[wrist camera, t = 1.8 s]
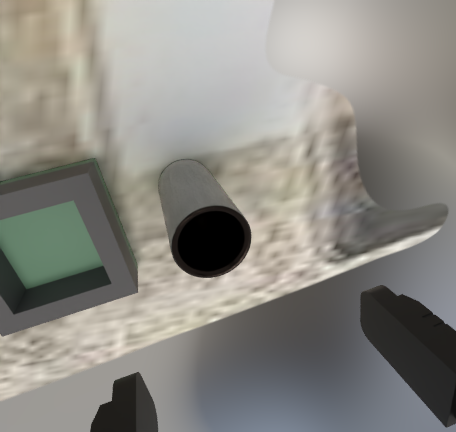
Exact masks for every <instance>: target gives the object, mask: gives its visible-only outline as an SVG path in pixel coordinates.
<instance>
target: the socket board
mask: <svg viewBox="0 0 456 432" xmlns="http://www.w3.org/2000/svg"><path fill="white" fill-rule="evenodd" d="M135 293H138V266H137V263H136V260H135V258H134V255H133V252H132V250H131V247H130V245H129V242H128V240H127V237H126V235H125V232H124V230H123V227H122V225H121V222H120V220H119V217H118V215H117V212H116V210H115V207H114V205H113V202H112V200H111V197H110V195H109V192H108V190H107V187H106V185H105V182H104V179H103V177H102V174H101V172H100V169H99V167H98V164H97V162H96V159H95V158H93V159H89V160H85V161H81V162H77V163H73V164H69V165H65V166H61V167H57V168H53V169H49V170H45V171H41V172H37V173H33V174H29V175H25V176H21V177H17V178H13V179H10V180H6V181H2V182H0V334H1V335H2V336H6V335H9V334H12V333H15V332H18V331H21V330H24V329H27V328H30V327H33V326H36V325H39V324H42V323H46V322H49V321H52V320H55V319H58V318H61V317H64V316H67V315H70V314H73V313H76V312H79V311H83V310H86V309H89V308H92V307H95V306H98V305H101V304H104V303H107V302H110V301H113V300H116V299H119V298H123V297H126V296H129V295H132V294H135Z"/></svg>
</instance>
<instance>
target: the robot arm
mask: <svg viewBox="0 0 456 432" xmlns="http://www.w3.org/2000/svg"><path fill="white" fill-rule="evenodd" d="M360 322H361V327H362V330H363V332H364V334H365V336H366V337H367V338H368V340H369V341H370V342H371V343H372V344H373V346H374V347H375V348H376V349H377V350H378V351H379V352H380V353H381V355H382V356H383V357H384V358H385V359H386V360H387V361H388V362H389V364H390V365H391V366H392V367H393V368H394V369H395V370H396V371H397V373H398V374H399V375H400V376H401V377H402V378H403V379H404V381H405V382H406V383H407V384H408V385H409V386H410V387H411V388H412V390H413V391H414V392H415V393H416V394H417V395H418V396H419V397H420V399H421V400H422V401H423V402H424V403H425V404H426V405H427V406H428V408H429V409H430V410H431V411H432V412H433V413H434V415H435V416H436V417H437V418H438V419H439V420H440V421H441V422H442V423H443V425H444V426H445V427H449V426H451V425H453V424H455V423H456V331H455V330H454V329H453V328H451V327H450V326H449V325H448V324H445V323H444V321H443V320H441V319H440V318H439V317H438V316H436V315H433V313H432V312H431V311H430V310H429V309H427V308H426V307H425V306H424V305H422V304H421V303H420V302H419V301H416V300H414V299H412V298H410V297H407V296H405V295H403V294H402V295H399V296H397V295H395V294H394V293H393V292H392V291H391V290H389V289H388V288H387V287H386V286H383V285H380V286H377V287H374V288H372V289H369V290H366V291H363V292H362V293H361V318H360ZM90 432H158V422H157V414H156V409H155V405H154V402H153V399H152V397H151V395H150V393H149V391H148V389H147V387H146V385H145V383H144V381H143V378H142V376H141V374H140V373H139V372H137V373H134V374H131V375H129V376H126V377H123V378H120V379H117V380H115V381H114V384H113V393H112V401H111V402H108V403H105V404H102V405H100V407H99V409H98V412H97V414H96V416H95V418H94V420H93V422H92V424H91V430H90Z"/></svg>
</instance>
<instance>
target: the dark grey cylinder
mask: <svg viewBox="0 0 456 432" xmlns="http://www.w3.org/2000/svg"><path fill="white" fill-rule="evenodd" d="M159 195H160V200H161V205H162V209H163V214H164V219H165V224H166V228H167V233H168V238H169V243H170V248H171V252H172V255H173V258H174V260H175V262H176V263H177V265H178V266H179V267H180V268H181V269H182V270H183V271H185V272H186V273H188V274H190V275H193V276H196V277H201V278H212V277H217V276H221V275H224V274H226V273H228V272H230V271H231V270H233V269H234V268H236V267H237V266H238V265H239V264H240V263H241V262H242V261H243V259H244V258H245V256H246V255H247V253H248V251H249V248H250V244H251V230H250V226H249V224H248V222H247V220H246V219H245V217H244V216H243V215H242V213H241V212H240V211H239V209H238V208H237V207H236V206H235V204H234V203H233V202H232V200H231V199H230V198H229V196H228V195H227V194H226V193H225V191H224V190H223V189H222V187H221V186H220V185H219V184H218V182H217V181H216V180H215V178H214V177H213V176H212V174H211V173H210V172H209V171H208V169H207V168H206V167H205V166H203V165H202V164H201V163H199V162H197V161H194V160H189V159H183V160H178V161H175V162H173V163H171V164H170V165H169V166H167V167H166V168H165V170H164V171H163V172H162V174H161V176H160V179H159Z"/></svg>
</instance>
